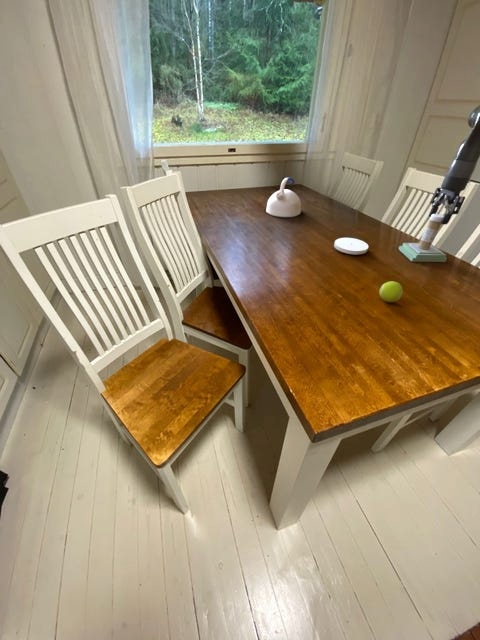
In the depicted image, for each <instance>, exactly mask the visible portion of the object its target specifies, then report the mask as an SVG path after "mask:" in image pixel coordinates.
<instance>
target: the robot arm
mask: <svg viewBox="0 0 480 640" xmlns="http://www.w3.org/2000/svg"><path fill="white" fill-rule="evenodd" d="M467 125H468V127H469V128H471V129H472V130H471V131H470V133H469V135H468V136H467V138H466V139H464V140H462V142H461V143H460V145H458V148H457V151H456V153H455V155H454V158H453V159H452V162H451V163H450V165H449V167H448V169H447V171H446V174H445V176H444V179H443V180H442V183H441V184H440V187H436V188H435V191H434V193H433V195H432V197H431V199H430V201H429V204H431V209H430V210H429V214H428V217H430V218H431V215H432V214H438V211H439V208H440V206H441V205H443V206H444V209H445V214H443V215H444V217H443V219H442V221H441V225H448V224H449V223H450V220H451V218H452V217H453V215H458V214H459V212H460V211H461V208H462V206H463V204H464V202H465V200H466V196H460V195H461V192H463V191H464V190H465V189H466V188H467V186H468V184H469V182H470V180H471V178H472V176H473V174H474V172H475V169H476V167H477V164H478V162H479V160H480V104H479V105H478V106H476V107H475V108H474V109H473V110H472V111H471V113H470V114H469V116H468V118H467Z"/></svg>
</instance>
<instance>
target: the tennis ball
mask: <svg viewBox="0 0 480 640" xmlns="http://www.w3.org/2000/svg"><path fill="white" fill-rule="evenodd" d="M378 293H379V297H380V299H381V300H383V301H384V302H387V303H394V302H397V301H399V300H400V299H401V298H402V296H403V294H404V289H403V286H402V285H401V284H400V283H399V282H397V281H392V280H391V281H387V282H385V283H383V284H382V285H381V286H380V288H379V291H378Z"/></svg>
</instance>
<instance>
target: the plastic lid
mask: <svg viewBox="0 0 480 640" xmlns="http://www.w3.org/2000/svg"><path fill="white" fill-rule="evenodd" d="M333 247H334V248H335V249H336V250H337V251H339V252H341V253H345V254H349V255H363V254H366V253H367V252H368V249H369V245H368V243H366V242H365V241H364V240H361V239H358V238H353V237H339V238H337V239H335V240H334V244H333Z"/></svg>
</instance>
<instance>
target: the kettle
mask: <svg viewBox="0 0 480 640" xmlns="http://www.w3.org/2000/svg"><path fill="white" fill-rule="evenodd" d="M288 181H289V182H290V184H292V185H294V184H295V181H294V179H293V178H292V177H288V176H287V177H284V179H283V180H282V181H281V184H280V186H279V187H280V188H279V190H277V191H275V192H274V193H273V194H272V195H271V196H270V197H269V198H268V200H267V202H266V208H265V209H266V210H265V212H266V213H267V214H268V215H270V216H273V217H279V218H293V217H297V216H299V215H300V214H301V213H302V202H301V199H300V198H299V196H298V195H297V193H296V192H294V191H292V190H291V189H290V188H288V189H285V187H286V184H287V182H288Z"/></svg>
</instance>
